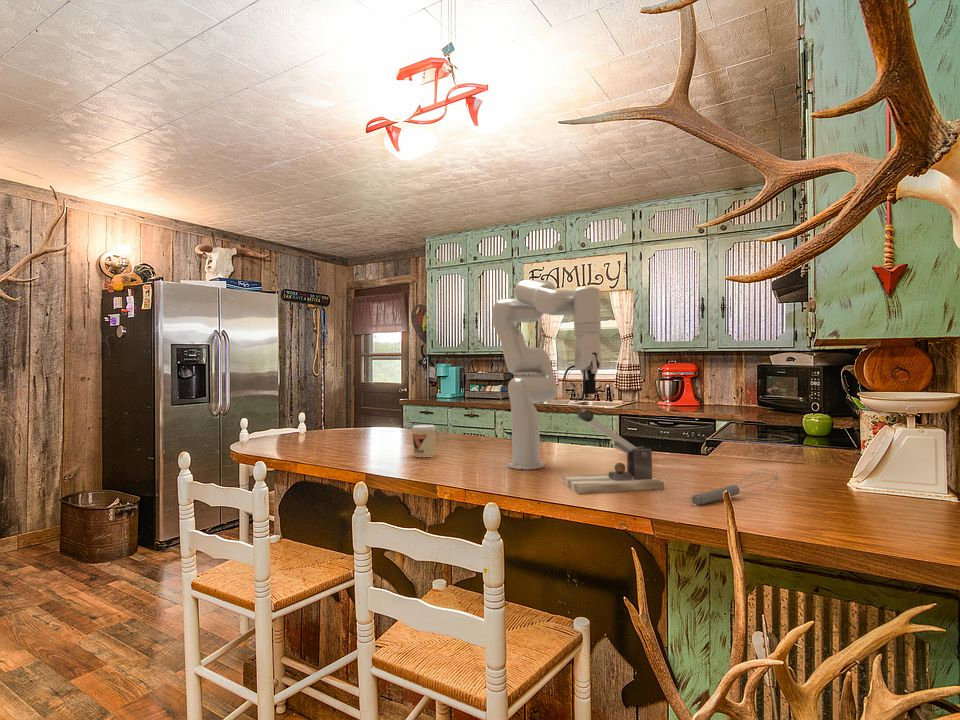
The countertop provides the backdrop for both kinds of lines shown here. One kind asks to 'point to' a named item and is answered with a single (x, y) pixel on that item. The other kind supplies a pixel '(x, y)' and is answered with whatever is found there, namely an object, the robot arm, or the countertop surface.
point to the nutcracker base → (608, 484)
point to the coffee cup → (424, 440)
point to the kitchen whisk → (718, 493)
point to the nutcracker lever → (606, 431)
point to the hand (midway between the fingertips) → (589, 393)
